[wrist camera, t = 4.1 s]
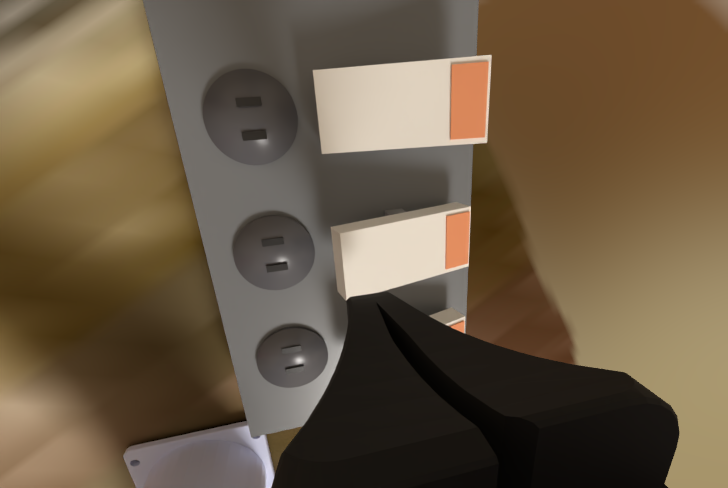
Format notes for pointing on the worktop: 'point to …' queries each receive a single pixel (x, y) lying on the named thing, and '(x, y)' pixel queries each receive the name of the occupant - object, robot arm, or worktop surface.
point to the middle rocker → (400, 248)
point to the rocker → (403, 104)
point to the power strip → (297, 172)
